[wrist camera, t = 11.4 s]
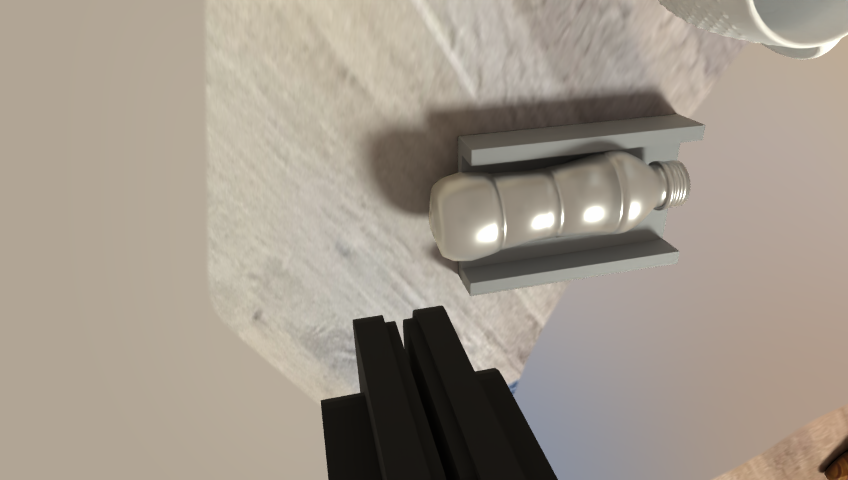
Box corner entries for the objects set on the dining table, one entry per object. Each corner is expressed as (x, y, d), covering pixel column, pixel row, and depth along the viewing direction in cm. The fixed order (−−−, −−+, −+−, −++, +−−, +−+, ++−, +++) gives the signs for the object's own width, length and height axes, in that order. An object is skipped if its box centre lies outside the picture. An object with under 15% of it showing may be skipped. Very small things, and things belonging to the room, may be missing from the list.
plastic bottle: (444, 281, 40) (697, 238, 43) (437, 192, 37) (708, 152, 40) (425, 245, 46) (649, 209, 49) (418, 165, 43) (656, 132, 46)
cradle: (457, 136, 43) (471, 150, 40) (677, 113, 47) (705, 125, 44) (458, 274, 49) (470, 296, 46) (653, 245, 52) (677, 263, 49)
